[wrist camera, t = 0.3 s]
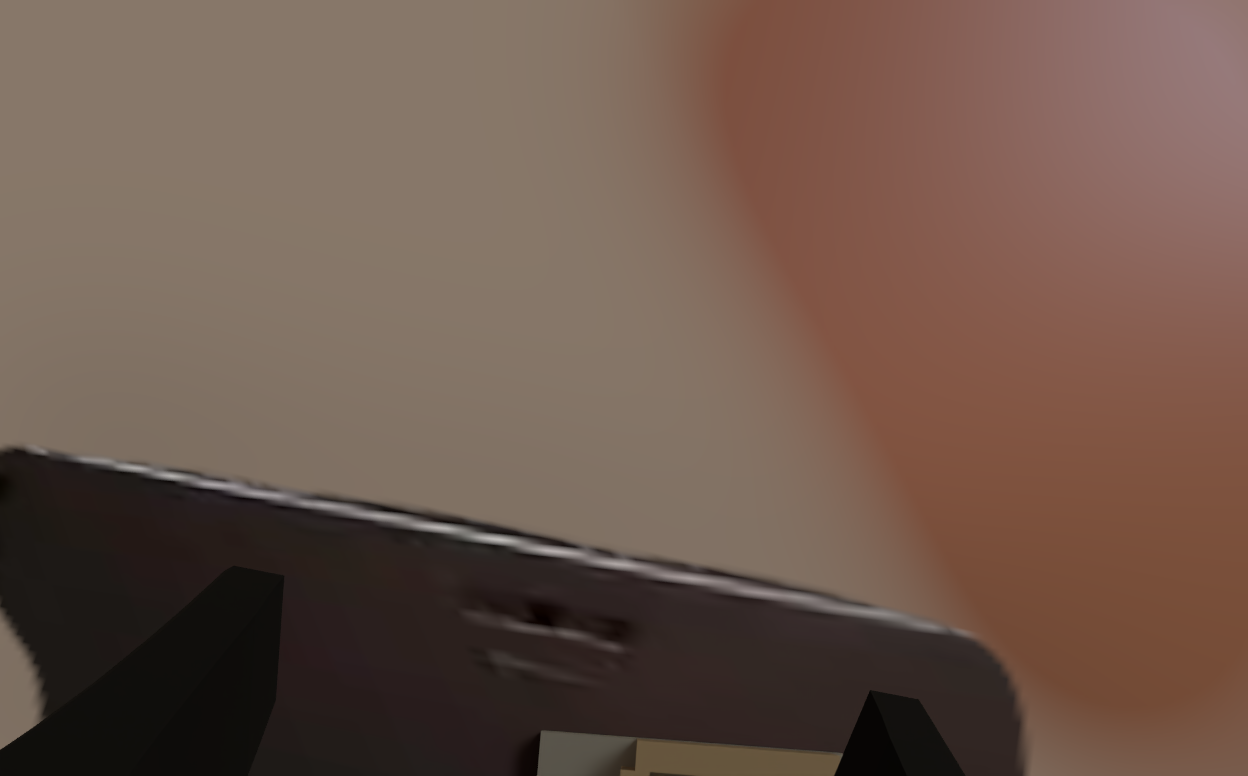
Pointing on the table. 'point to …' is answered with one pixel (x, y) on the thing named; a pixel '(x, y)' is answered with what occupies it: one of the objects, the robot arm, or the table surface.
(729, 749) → the wooden compartment tray
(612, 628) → the table surface
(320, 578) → the table surface
